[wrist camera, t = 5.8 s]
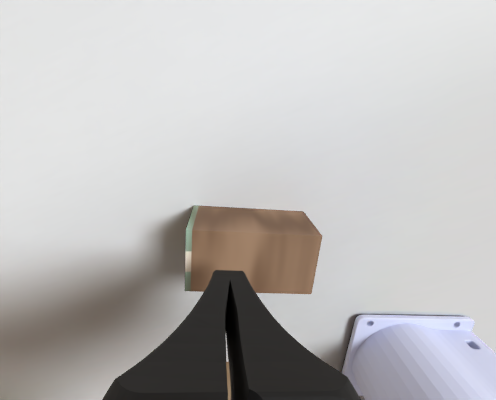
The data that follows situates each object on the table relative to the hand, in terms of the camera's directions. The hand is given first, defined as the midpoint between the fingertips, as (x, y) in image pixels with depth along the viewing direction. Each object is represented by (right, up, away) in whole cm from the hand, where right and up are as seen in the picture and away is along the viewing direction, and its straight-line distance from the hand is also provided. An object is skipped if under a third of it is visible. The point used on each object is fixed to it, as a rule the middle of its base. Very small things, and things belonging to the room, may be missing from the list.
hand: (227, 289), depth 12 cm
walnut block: (-2, +1, +4) cm, 5 cm away
